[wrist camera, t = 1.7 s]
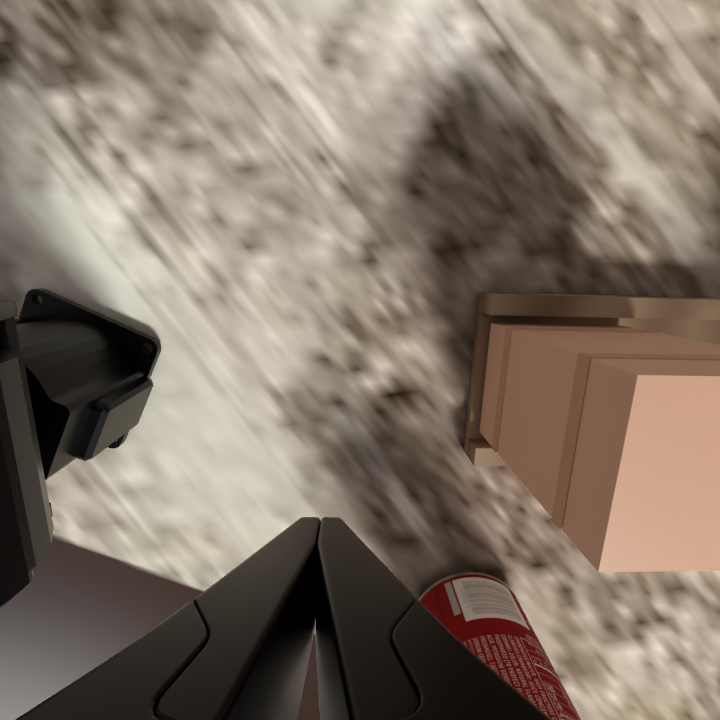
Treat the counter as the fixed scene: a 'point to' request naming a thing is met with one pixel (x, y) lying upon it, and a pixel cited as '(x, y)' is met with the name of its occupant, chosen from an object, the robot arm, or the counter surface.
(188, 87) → the counter surface
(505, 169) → the counter surface
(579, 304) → the bay
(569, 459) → the pink box
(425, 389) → the counter surface
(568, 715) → the soda can
